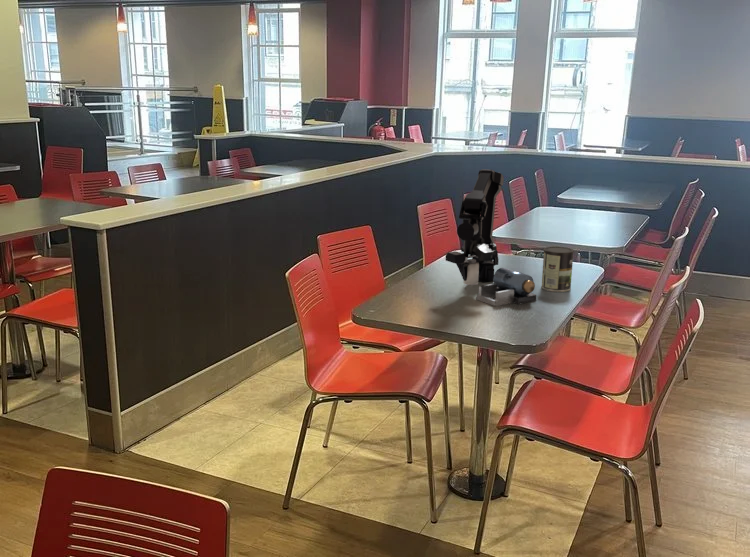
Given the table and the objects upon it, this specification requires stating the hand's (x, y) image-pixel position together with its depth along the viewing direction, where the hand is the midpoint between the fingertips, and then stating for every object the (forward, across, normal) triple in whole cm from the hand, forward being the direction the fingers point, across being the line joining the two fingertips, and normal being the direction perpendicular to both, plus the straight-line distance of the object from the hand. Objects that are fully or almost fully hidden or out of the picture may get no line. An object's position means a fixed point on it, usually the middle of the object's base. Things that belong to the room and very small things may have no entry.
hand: (470, 279), depth 237 cm
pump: (+1, 0, 0) cm, 1 cm away
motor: (+5, +6, -10) cm, 13 cm away
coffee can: (+6, +31, -10) cm, 33 cm away
